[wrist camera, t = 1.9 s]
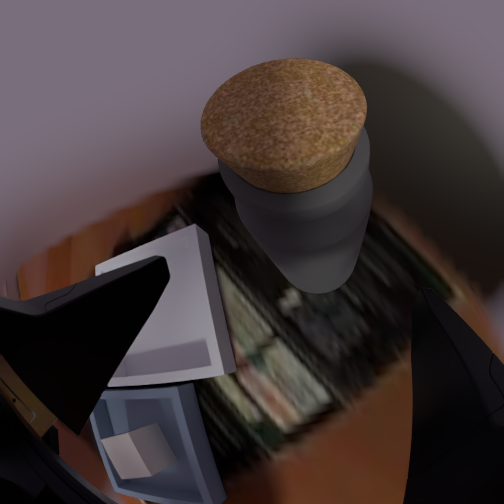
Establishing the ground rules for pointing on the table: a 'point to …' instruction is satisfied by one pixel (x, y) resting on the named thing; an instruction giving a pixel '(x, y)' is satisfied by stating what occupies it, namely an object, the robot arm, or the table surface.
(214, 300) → the grey tray
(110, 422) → the blue tray
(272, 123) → the bottle
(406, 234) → the table surface
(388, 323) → the table surface
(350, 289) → the table surface
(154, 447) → the white cube
